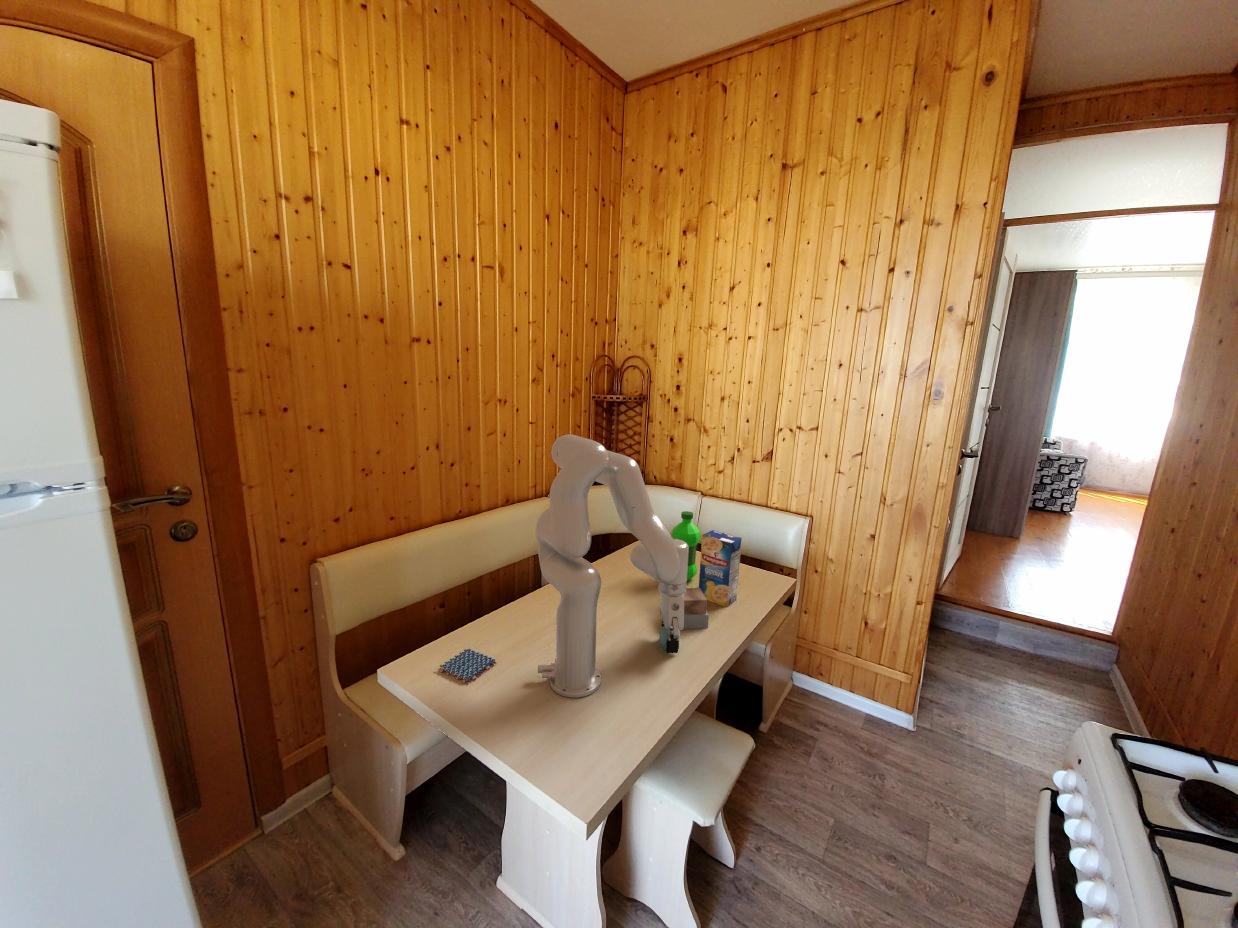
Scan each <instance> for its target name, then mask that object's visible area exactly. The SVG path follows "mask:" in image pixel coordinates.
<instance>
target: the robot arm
mask: <svg viewBox="0 0 1238 928" xmlns="http://www.w3.org/2000/svg"><path fill="white" fill-rule="evenodd" d="M550 451H551V458H552V460H553V463H555V465H556V466H557V467H559V468H560V470H559V472H557V475H556V476H555V477H554V479H553V481H552V483H551V486H550V490H549V508H547V509H545V510H543V512H542V513H541V514H540V516H539V517H538V519H537V521H536V527H535V538H536V544H537V545H536V547H537V553H538V559H539V567H540V570H541V574H542V575H543V576H542V577H543V578H544V579H545V580H546V581H547V582H548V584H550V585H551V586H552V587H553V588H554V589H555V590H557V592H559V594H560V600H559V601H560V602H559V604H558V607H557V609H556V618H555V619H556V623H555V625H556V630H555V631H556V642H555V643H556V645H555V646H556V648H555V650H556V651H555V653H556V655H555V659H554V662H551V663H550V664H538V665H537V674H541V678H542V679H549V685H550V687H551V689H552V690H553V691H554V692H555V693H557V695H560V696H563V697H566V698H583V697H586V696H589V695H592V694H594V693H595V692H596V691H597V690H598V689H599V688H600V687H601V684H602V673H601V672H600V671H599V669H598V668H597V667H596V663H597V662H596V659H597V656H596V654H597V651H596V650H597V613H598V612H597V611H598V602H599V598H600V592H601V588H602V577H601V575H600V572H599V571H598V569H597V568H596V567H595V566H594V565H593V564H592V563H591V562H590V561H588V560H587V559H585V558H583V557H584V556H585V555H586V554H587V553H588V551H590V548H591V544H592V531H591V525H590V524H591V523H590V515H589V503H588V502H589V499H588V498H589V492H590V489H591V487H592V486H593V484H594V483H595V482H597V483H598V484H602V485H604V486H607V489H609V492H610V496H611V498H612V500H613V503H614V506H615V509H616V511H617V514H618V518H619V520H620V522H621V524H623V526H624V527H625V528H626V529H627V531H629V532H630V533H631V534H632V535H633V536H634V537H635V538H636V539H637V540H638V541H639V542H640V543H638V544H636V545H635V546H633V548H632V550H631V552H630V554H629V559H630V561H631V564H632V565H633V566H634V567H635V568H636V569H638V570H639V571H640V572H642V573H644V574H646V575H648V576H649V577H650V578H653V579H654V580H655V581H658V592H659V593H660V617H661V625H660V628H661V627H663V626H665V628H666V629H667V630H668V639H667V642H666V652H665V653H667V654H678V652H679V649H678V645H679V646H680V639H679V630H680V631H684V629H685V628H684V596H683V595H684V594H685V593H686V588H687V583H688V581H687V570H688V554H689V547H688V545H687V543H686V542H684V541H682V540H678V539H673V538H672V534H671V533H670V532H669V531H668V529H667V527H666V526H665V524H664V522H662V520H661V519H660V517H659V516H658V514H657V513H656V512H655V510H654V509H653V508H654V507H652V506H653V505H652V503H651V499H650V497H649V494H648V491H647V487H646V485H645V481H644V478H643V474H642V472H641V468H640V466H639V464H638V463H637V461H636V460H635V459H633V458H632V457H630V456H627V455H625V454H621V453H618V452H614V451H611V450H608V449H606V448H605V446H604V445H603V444H601V443H600V442H598V441H596V440H593V439H591V438H587V437H586V438H585V437H582V436H579V435H575V434H571V433H570V434H569V433H568V434H564V435H561V436H559V437H558V438H557V439H556V440H555V441H554V443H553V444H552V447H551V450H550ZM670 626H673V628H670ZM678 626H679V628H678ZM678 629H679V630H678ZM670 631H673V634H671V635H670Z"/></svg>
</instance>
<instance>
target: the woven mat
mask: <svg viewBox="0 0 1238 928" xmlns="http://www.w3.org/2000/svg"><path fill="white" fill-rule="evenodd" d="M496 665H497V662H496V658H494V657H493V658H492V657H491V656H489V655H486V654H483V653H480V652H478V651H475V650H473V649H471V648H467V649H463V651H462V652H459V654H456V655H454V657H453V658H449V660H447V661H444V664H440V665H439V667H440V668H439V672H440V673H444V674H446V675H447V676H450V677H452V679H453V680H455V679H456V680H457V681H458V680H459V681H460V682H462V683H464V684H465V683H466V684H467V685H469V684H472V682H473V681H476V680H477V679H478V678H479V677H481V676H482V675H484V674H485V673H486V672H487V671H490V670H491V669H492V668H493V667H494V666H496Z"/></svg>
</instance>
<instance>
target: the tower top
mask: <svg viewBox="0 0 1238 928" xmlns="http://www.w3.org/2000/svg"><path fill="white" fill-rule="evenodd" d="M683 596H684V614H706V611H707V605H708V600H707V599H706V598H705V596H704V594H703V592H702V590H701V589H700V588H699V587H693V588H692V587H686V593H685V594H684V595H683Z"/></svg>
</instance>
